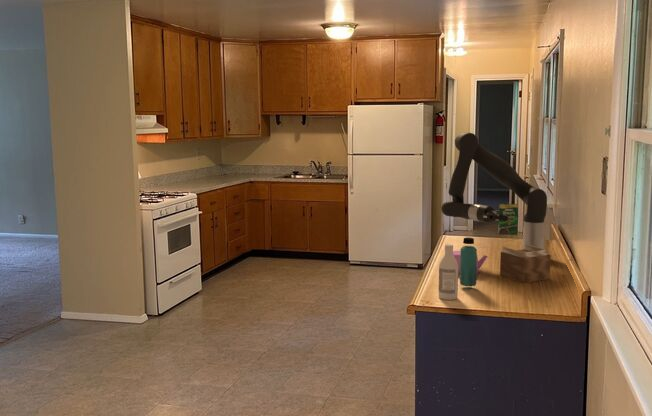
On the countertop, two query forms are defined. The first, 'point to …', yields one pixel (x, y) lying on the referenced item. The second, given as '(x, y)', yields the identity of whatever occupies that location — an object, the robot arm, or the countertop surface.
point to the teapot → (480, 262)
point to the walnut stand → (525, 264)
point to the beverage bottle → (468, 263)
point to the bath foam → (448, 275)
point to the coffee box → (512, 223)
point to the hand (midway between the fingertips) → (512, 217)
